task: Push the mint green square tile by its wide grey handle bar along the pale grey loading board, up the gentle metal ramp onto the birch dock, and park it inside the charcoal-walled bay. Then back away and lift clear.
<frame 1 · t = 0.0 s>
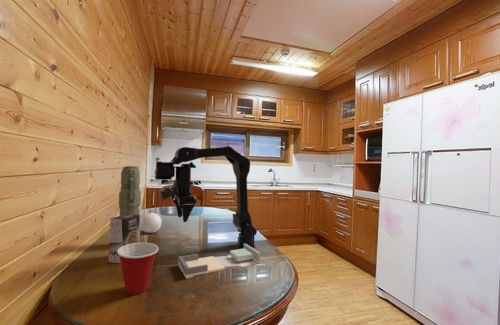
hand: (182, 219, 96), 15 cm above the table, tool pointing down, fingers open, 9 cm apart
dock: (215, 265, 89), on the table
mint green square tile: (242, 259, 94), point 1 cm above the table, touching dock
ornament: (151, 232, 131), on the table
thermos: (129, 245, 110), on the table
coffee box: (124, 259, 94), on the table
plastic cup: (137, 290, 70), on the table
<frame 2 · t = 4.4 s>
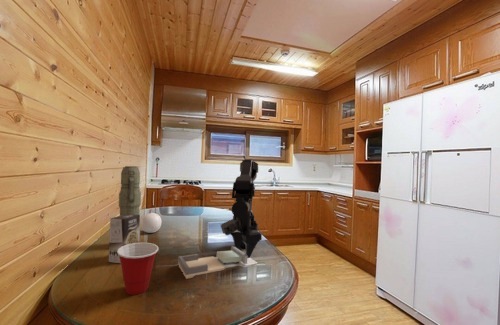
hand: (242, 253, 94), 3 cm above the table, tool pointing down, fingers open, 9 cm apart
mint green square tile: (228, 261, 91), point 1 cm above the table, tilted 5°, touching dock
everything else where it was.
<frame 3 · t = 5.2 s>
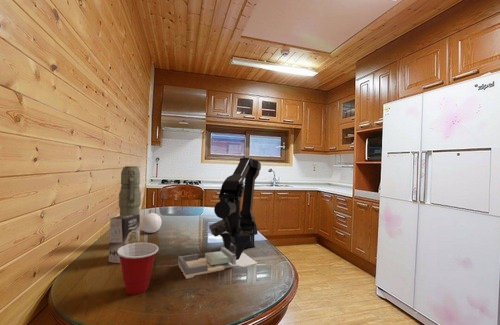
hand: (231, 255, 91), 3 cm above the table, tool pointing down
mint green square tile: (217, 262, 89), point 1 cm above the table, touching gripper
everything else where it was.
when the fingers open (3 cm above the table, at t = 6.0 s): mint green square tile moves 2 cm, resting on dock.
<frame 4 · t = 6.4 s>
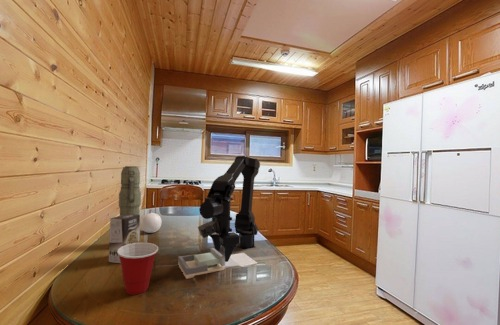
hand: (221, 257, 90), 3 cm above the table, tool pointing down, fingers open, 9 cm apart
mint green square tile: (206, 264, 87), point 1 cm above the table, touching dock
everything else where it was.
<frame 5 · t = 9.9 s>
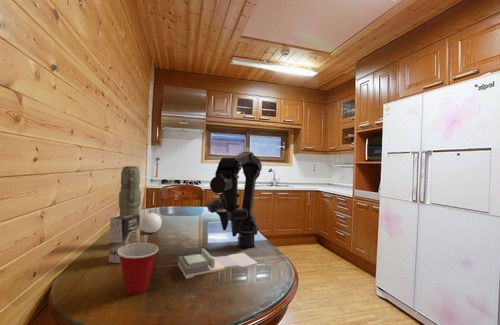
hand: (229, 233, 91), 11 cm above the table, tool pointing down, fingers open, 9 cm apart
mint green square tile: (196, 265, 85), point 1 cm above the table, touching dock
everything else where it was.
at the end: mint green square tile 0.4 cm from the target spot, point 1.2 cm above the table; mint green square tile tilted 0°; the gripper is holding nothing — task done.
